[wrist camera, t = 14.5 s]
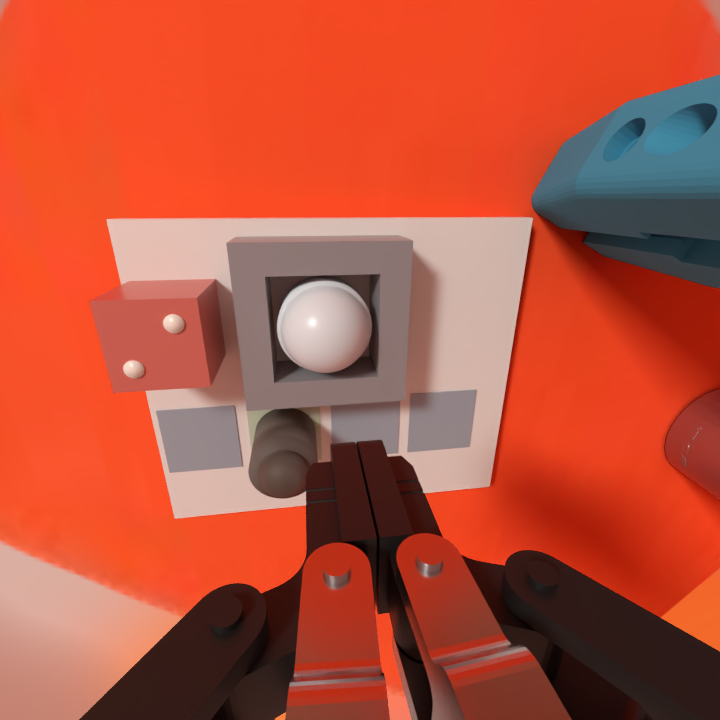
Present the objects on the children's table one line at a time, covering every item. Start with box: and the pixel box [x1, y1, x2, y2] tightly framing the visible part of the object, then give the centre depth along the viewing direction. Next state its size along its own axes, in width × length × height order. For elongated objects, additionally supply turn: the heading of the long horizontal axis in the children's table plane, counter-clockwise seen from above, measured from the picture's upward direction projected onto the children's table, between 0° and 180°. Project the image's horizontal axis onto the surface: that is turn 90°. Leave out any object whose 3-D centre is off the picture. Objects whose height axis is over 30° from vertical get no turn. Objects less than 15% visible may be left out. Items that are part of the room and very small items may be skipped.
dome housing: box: [226, 235, 413, 411], centre depth 25 cm, size 10×10×4 cm
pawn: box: [248, 408, 318, 499], centre depth 26 cm, size 4×4×6 cm
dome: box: [277, 275, 372, 373], centre depth 23 cm, size 6×6×5 cm
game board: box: [106, 217, 533, 518], centre depth 29 cm, size 26×22×1 cm
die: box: [89, 279, 226, 393], centre depth 23 cm, size 5×5×5 cm
